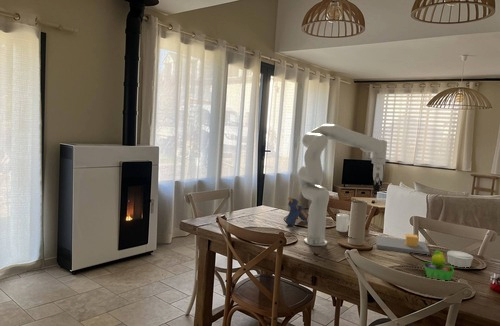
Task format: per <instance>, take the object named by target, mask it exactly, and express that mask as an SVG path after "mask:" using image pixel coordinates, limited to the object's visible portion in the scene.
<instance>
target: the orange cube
mask: <svg viewBox="0 0 500 326" xmlns="http://www.w3.org/2000/svg"><path fill="white" fill-rule="evenodd" d="M418 241H419V237H418V234H413V233H412V234H410V233H405V244H406V245H407V246H415V247H417V245H418Z"/></svg>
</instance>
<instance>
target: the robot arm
mask: <svg viewBox="0 0 500 326" xmlns="http://www.w3.org/2000/svg"><path fill="white" fill-rule="evenodd" d="M329 140H331V141H335V142H337V143H340V144H342V145H345V146H349V147H352V148H359V149H360V150H361V151H362V152H365V153H372V155H371V164H373V168H372V169H373V171H372V177H373V184H372V185H373V189H372V190H373V192H376V193H377V192H378V193H379V192H380V189H381V184H380V183H381V182H383V177H384V165H386V162H387V161H386V160H387V149H388V148H387V147H388V141H387V140H386V139H385V140H384V139H379V138H376V137H373V136H370V135H366V134H363V133H360V132H357V131H354V130H352V129H349V128H346V127H343V126H341V125H338V124H336V123H335V124H333V123H331V124H330V123H325V124H322V125H320V126H318V127H316V128H314V129H312V130H310V131H308V132H307V133H305V134H304V136H303V137H302V144H303V146H304V147H305V148H307V149H306V150H305V153H304V156H303V159H304V160H303V161H304V165H302V166H301V167H300V169H299V170H298V175H297V176H298V182H299V187H300V191H301V195H302V196H303V198H304V199H306V200H308V201H310V202H311V203H310V205H309V208H308V214H309V216H308V219H307V236H306V237H305V238H304V239H303V242H304V243H305V244H307V245H309V246H313V247H314V246H315V247H322V246H323V247H324V246H326V245H328V241H327V239H325V237H326V223H327V209H328V204H329V200H330V192H329V190H328V189H327V187H325V186H322V185H320V184H322V183H323V181H324V172H323V166H322V161H321V156H322V153H323V152H324V150H325V148H326V147H327V145H328V142H329Z"/></svg>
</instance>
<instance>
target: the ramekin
mask: <svg viewBox="0 0 500 326" xmlns="http://www.w3.org/2000/svg"><path fill="white" fill-rule="evenodd" d="M446 255H447V263H448V264H449V263H450V264H451V265H450V264H449V265H450V266H452V265H454V266H453V267H455V266H458V267H457V268H459V267H465V268H464V269H467V268H466V267H469V268H470V267H471V266H472V264H473V263H472V262H473V260H474V256H473V255H472V254H469V253H467V252H464V251H459V250H449V251H446Z"/></svg>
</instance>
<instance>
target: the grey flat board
mask: <svg viewBox="0 0 500 326" xmlns="http://www.w3.org/2000/svg"><path fill="white" fill-rule="evenodd" d="M405 239H406V238H405ZM405 239H404V238H396V237H388V236H380V235H376V236H375V246H376V249H379V250H386V251H394V252H400V253H407V254H411V253H410V252H416V253H421V254H427V255H426V256H428V255H429V256H430V254H431V253H430V250H429V248H428V245H427V244H426V241H420V240H418V245H417V247H415V246H407V245H406V244H405ZM421 254H420V255H421Z"/></svg>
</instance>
